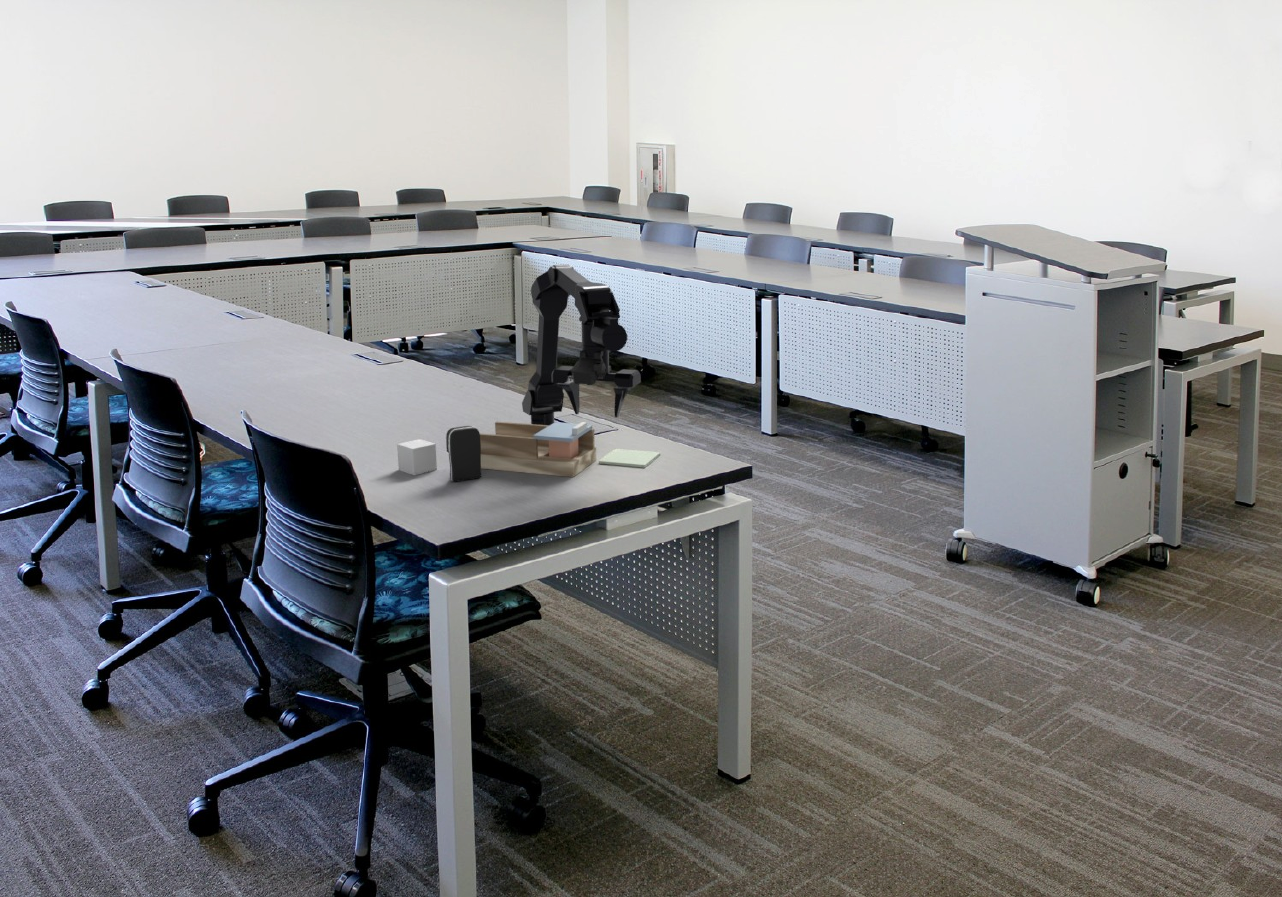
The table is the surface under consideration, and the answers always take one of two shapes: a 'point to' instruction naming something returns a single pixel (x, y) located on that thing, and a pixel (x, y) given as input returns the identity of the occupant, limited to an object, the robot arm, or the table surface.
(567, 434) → the cover
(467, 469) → the battery charger
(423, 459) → the white cube
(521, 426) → the open storage box
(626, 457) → the sage mat
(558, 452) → the block
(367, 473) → the table surface
